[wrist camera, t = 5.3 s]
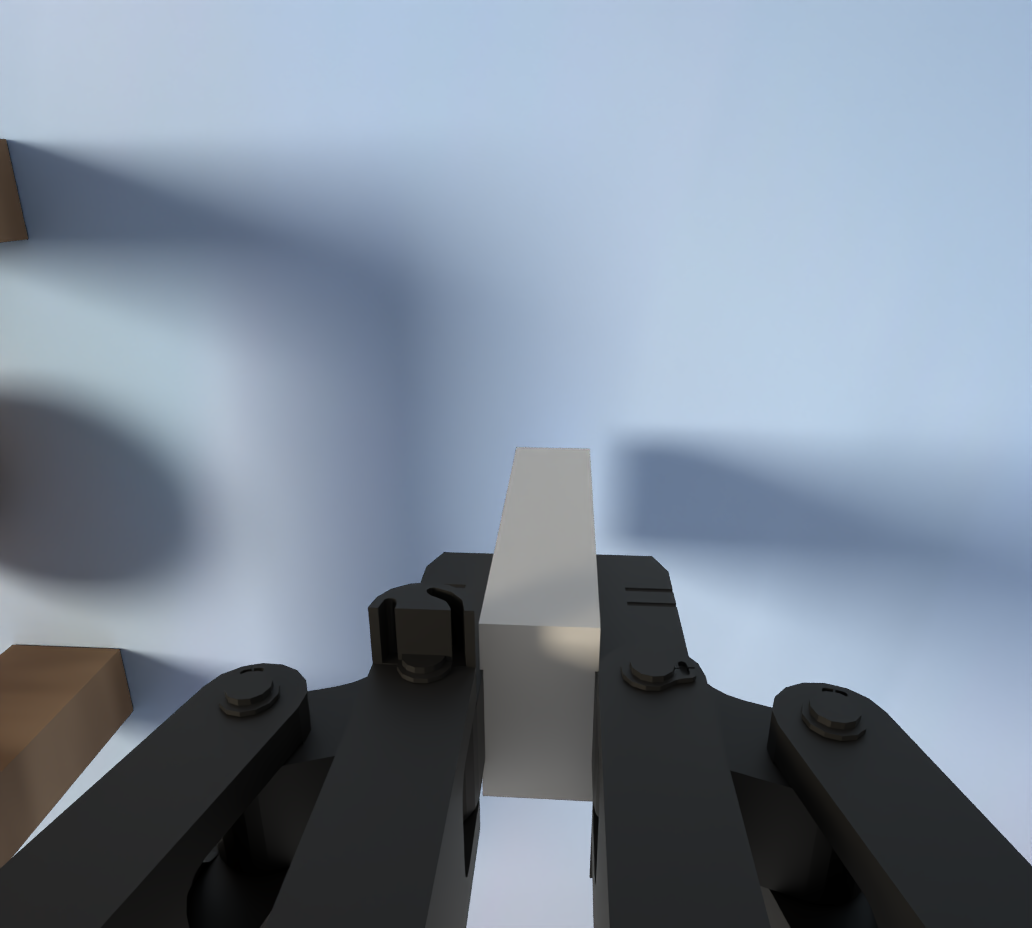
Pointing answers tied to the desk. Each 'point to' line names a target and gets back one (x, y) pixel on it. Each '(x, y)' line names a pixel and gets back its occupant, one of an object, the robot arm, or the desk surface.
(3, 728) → the bridge
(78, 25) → the desk surface
